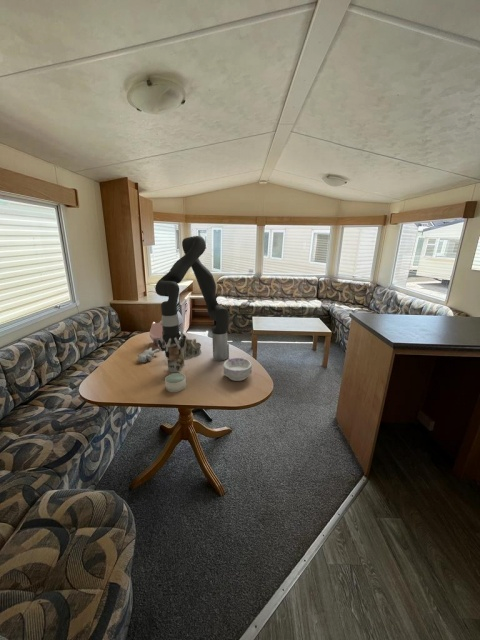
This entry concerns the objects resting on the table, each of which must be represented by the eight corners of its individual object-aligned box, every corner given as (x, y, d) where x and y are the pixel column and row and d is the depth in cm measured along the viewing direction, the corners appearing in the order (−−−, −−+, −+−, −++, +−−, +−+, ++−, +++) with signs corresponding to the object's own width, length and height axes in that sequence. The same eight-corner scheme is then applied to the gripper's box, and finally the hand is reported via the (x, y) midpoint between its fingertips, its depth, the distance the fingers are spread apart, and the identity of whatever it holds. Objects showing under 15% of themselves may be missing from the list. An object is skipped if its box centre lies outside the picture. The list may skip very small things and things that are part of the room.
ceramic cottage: (170, 358, 163) (169, 335, 159) (182, 349, 178) (183, 328, 174) (192, 362, 159) (193, 340, 155) (203, 353, 174) (204, 332, 170)
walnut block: (176, 355, 130) (175, 344, 129) (179, 358, 127) (178, 347, 125) (167, 357, 128) (166, 346, 127) (170, 360, 125) (169, 349, 123)
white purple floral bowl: (227, 386, 132) (226, 372, 130) (221, 372, 146) (220, 359, 144) (255, 381, 136) (255, 368, 134) (247, 368, 150) (247, 356, 148)
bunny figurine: (132, 356, 157) (147, 344, 170) (134, 363, 159) (149, 351, 172) (146, 358, 154) (160, 346, 167) (147, 366, 156) (161, 353, 169)
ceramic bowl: (182, 379, 139) (181, 370, 137) (188, 388, 130) (188, 379, 129) (163, 384, 134) (162, 375, 132) (168, 394, 126) (167, 384, 124)
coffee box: (178, 372, 146) (176, 346, 141) (168, 371, 147) (165, 345, 142) (185, 365, 154) (183, 340, 150) (175, 364, 156) (172, 339, 151)
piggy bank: (166, 337, 199) (165, 317, 194) (177, 344, 186) (176, 323, 181) (147, 342, 189) (144, 321, 185) (157, 349, 176) (154, 327, 171)
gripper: (182, 319, 129) (185, 350, 134) (153, 323, 122) (156, 356, 127) (187, 323, 122) (189, 356, 127) (156, 328, 116) (160, 362, 121)
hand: (173, 356), depth 127 cm, fingers closed on walnut block, 4 cm apart
